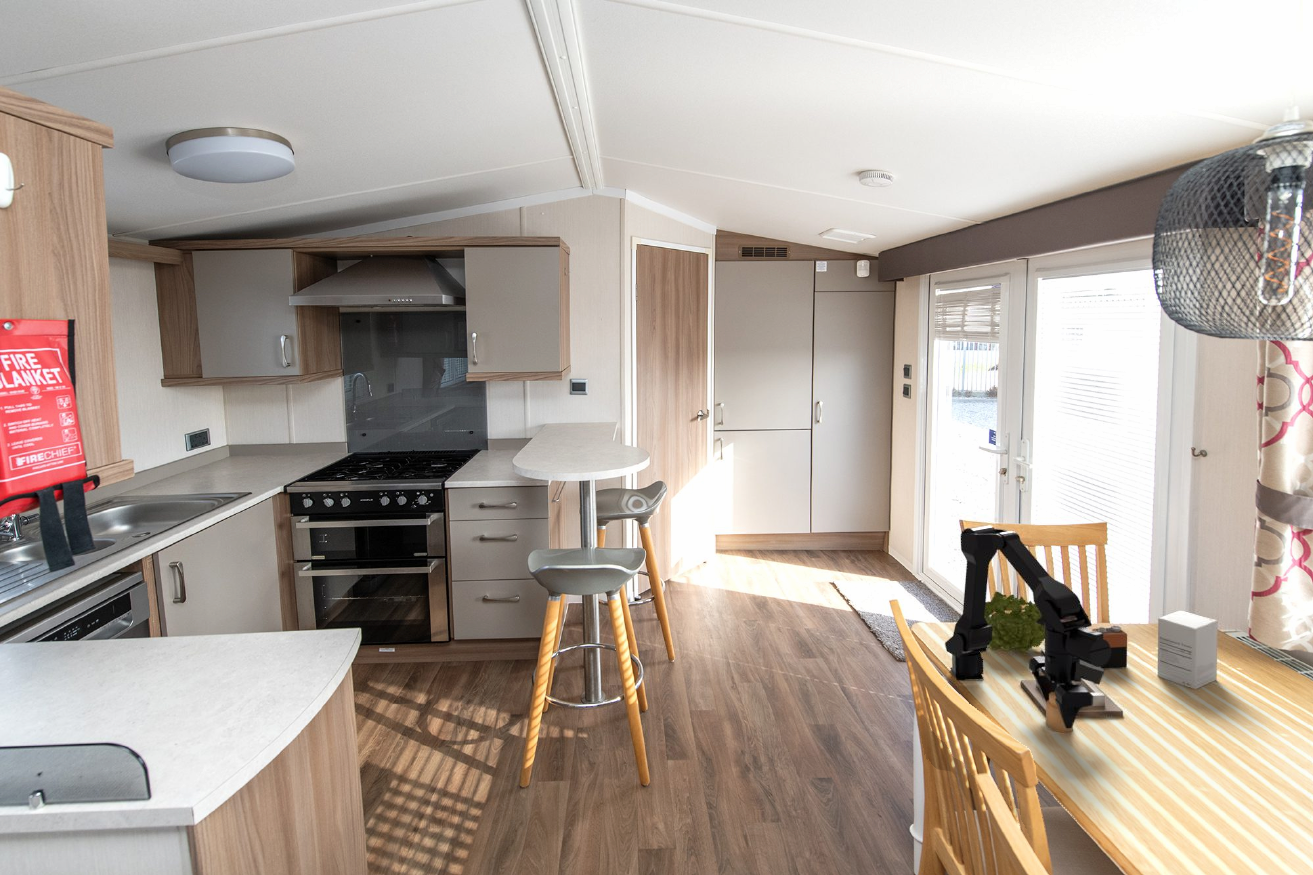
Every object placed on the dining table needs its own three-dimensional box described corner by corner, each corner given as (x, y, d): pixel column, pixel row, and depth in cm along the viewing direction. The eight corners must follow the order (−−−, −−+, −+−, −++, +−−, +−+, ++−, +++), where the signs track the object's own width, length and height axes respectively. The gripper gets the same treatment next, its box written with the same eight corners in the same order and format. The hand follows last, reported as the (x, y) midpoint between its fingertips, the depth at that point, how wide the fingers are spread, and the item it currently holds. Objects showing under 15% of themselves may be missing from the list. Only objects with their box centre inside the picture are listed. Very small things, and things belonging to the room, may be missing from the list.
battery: (1127, 668, 193) (1128, 630, 191) (1100, 669, 193) (1100, 631, 191) (1117, 660, 197) (1118, 623, 196) (1090, 662, 197) (1091, 624, 196)
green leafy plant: (1031, 616, 218) (1062, 594, 204) (1031, 668, 209) (1063, 649, 196) (968, 597, 219) (995, 574, 205) (966, 648, 210) (993, 628, 197)
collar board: (1047, 717, 172) (1047, 701, 171) (1020, 684, 188) (1020, 670, 187) (1122, 716, 170) (1123, 700, 170) (1089, 683, 186) (1089, 669, 185)
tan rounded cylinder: (1051, 732, 165) (1051, 701, 165) (1042, 720, 171) (1042, 690, 170) (1077, 732, 165) (1077, 701, 164) (1066, 720, 170) (1066, 690, 169)
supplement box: (1178, 666, 191) (1179, 609, 189) (1217, 680, 183) (1219, 620, 181) (1155, 675, 188) (1156, 617, 186) (1194, 690, 180) (1196, 628, 178)
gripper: (1120, 666, 155) (1119, 739, 157) (1079, 631, 174) (1079, 696, 176) (1062, 667, 157) (1062, 739, 159) (1028, 632, 175) (1028, 697, 177)
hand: (1059, 717), depth 167 cm, fingers open, 9 cm apart
